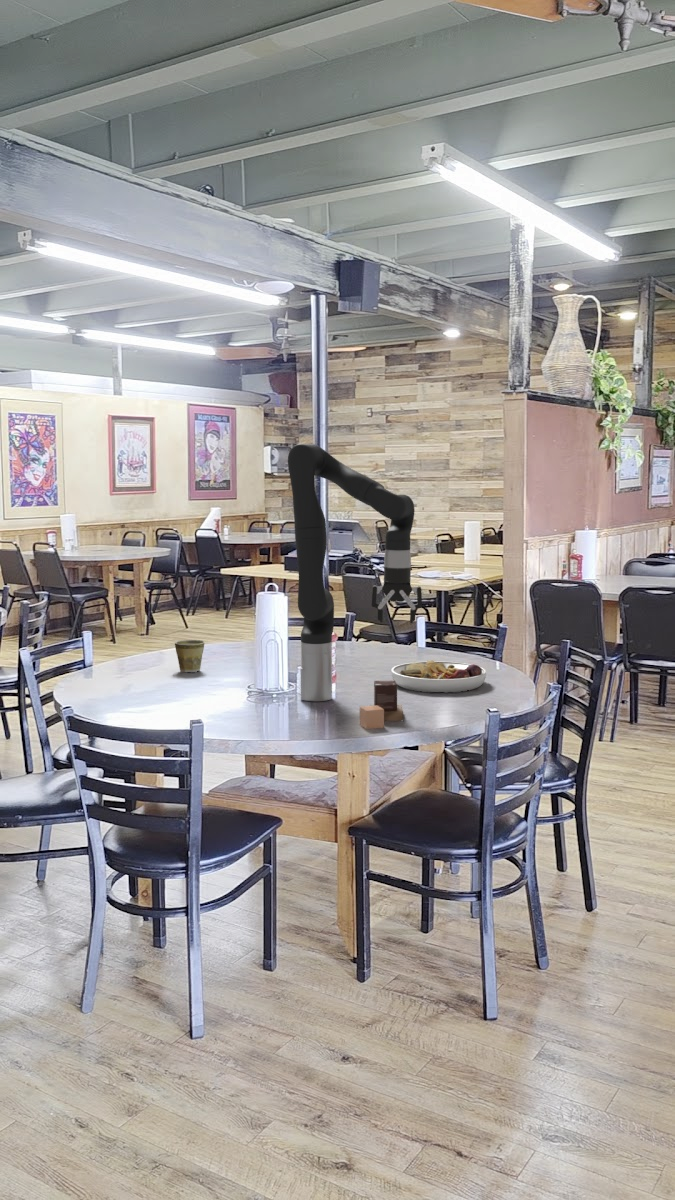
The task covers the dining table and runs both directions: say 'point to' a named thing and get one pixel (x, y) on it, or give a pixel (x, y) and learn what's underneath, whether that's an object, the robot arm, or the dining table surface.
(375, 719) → the terracotta block
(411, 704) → the dining table surface
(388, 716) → the plinth
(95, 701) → the dining table surface
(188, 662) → the ceramic cup
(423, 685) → the bowl
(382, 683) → the box
